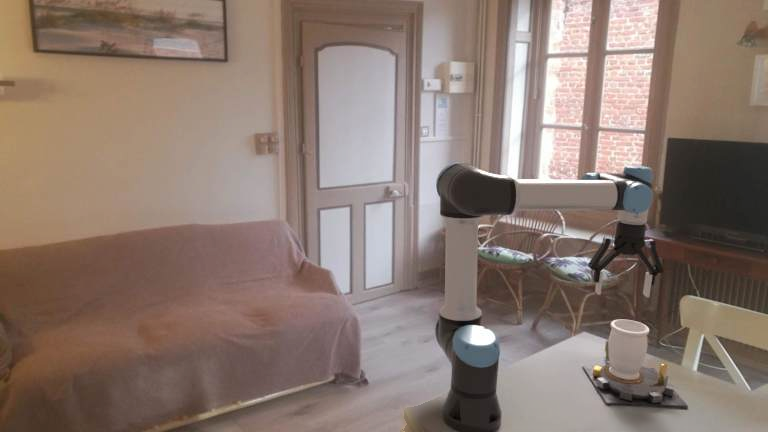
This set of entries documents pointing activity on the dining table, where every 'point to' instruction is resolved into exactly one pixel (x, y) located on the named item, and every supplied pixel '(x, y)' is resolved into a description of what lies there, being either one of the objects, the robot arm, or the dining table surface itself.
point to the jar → (627, 348)
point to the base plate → (615, 399)
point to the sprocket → (636, 383)
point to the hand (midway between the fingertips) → (621, 294)
